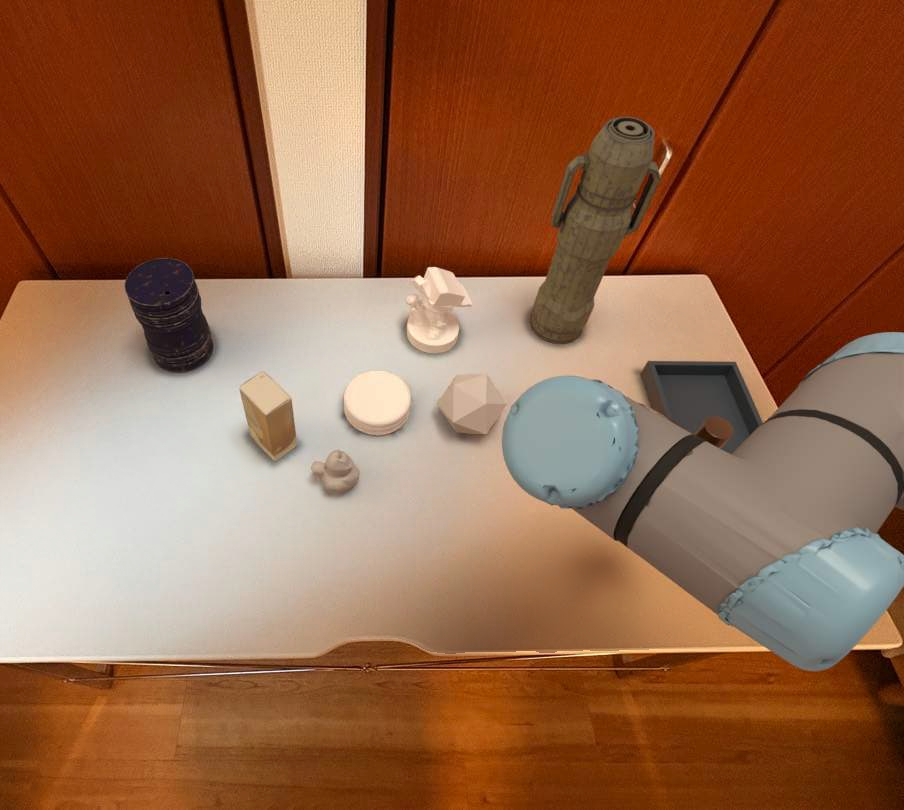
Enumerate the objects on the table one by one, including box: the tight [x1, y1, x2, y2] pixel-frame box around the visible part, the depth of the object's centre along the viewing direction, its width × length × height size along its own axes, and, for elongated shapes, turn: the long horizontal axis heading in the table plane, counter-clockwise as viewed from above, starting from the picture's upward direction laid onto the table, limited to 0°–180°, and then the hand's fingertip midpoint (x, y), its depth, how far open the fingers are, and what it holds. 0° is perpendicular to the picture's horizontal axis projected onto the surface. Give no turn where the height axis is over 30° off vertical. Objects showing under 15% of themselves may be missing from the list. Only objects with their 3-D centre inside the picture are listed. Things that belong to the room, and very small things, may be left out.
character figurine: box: [405, 266, 473, 355], centre depth 97 cm, size 9×10×12 cm
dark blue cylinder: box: [124, 257, 214, 374], centre depth 93 cm, size 10×10×15 cm
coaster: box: [343, 369, 412, 436], centre depth 91 cm, size 10×10×4 cm
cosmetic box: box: [238, 370, 298, 462], centre depth 84 cm, size 6×4×12 cm
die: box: [436, 373, 508, 435], centre depth 89 cm, size 8×9×10 cm
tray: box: [640, 360, 764, 454], centre depth 91 cm, size 18×14×3 cm
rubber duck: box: [310, 449, 360, 494], centre depth 82 cm, size 5×7×8 cm
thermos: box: [529, 116, 662, 345], centre depth 89 cm, size 9×12×35 cm
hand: (693, 472), depth 64 cm, fingers closed on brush, 2 cm apart
